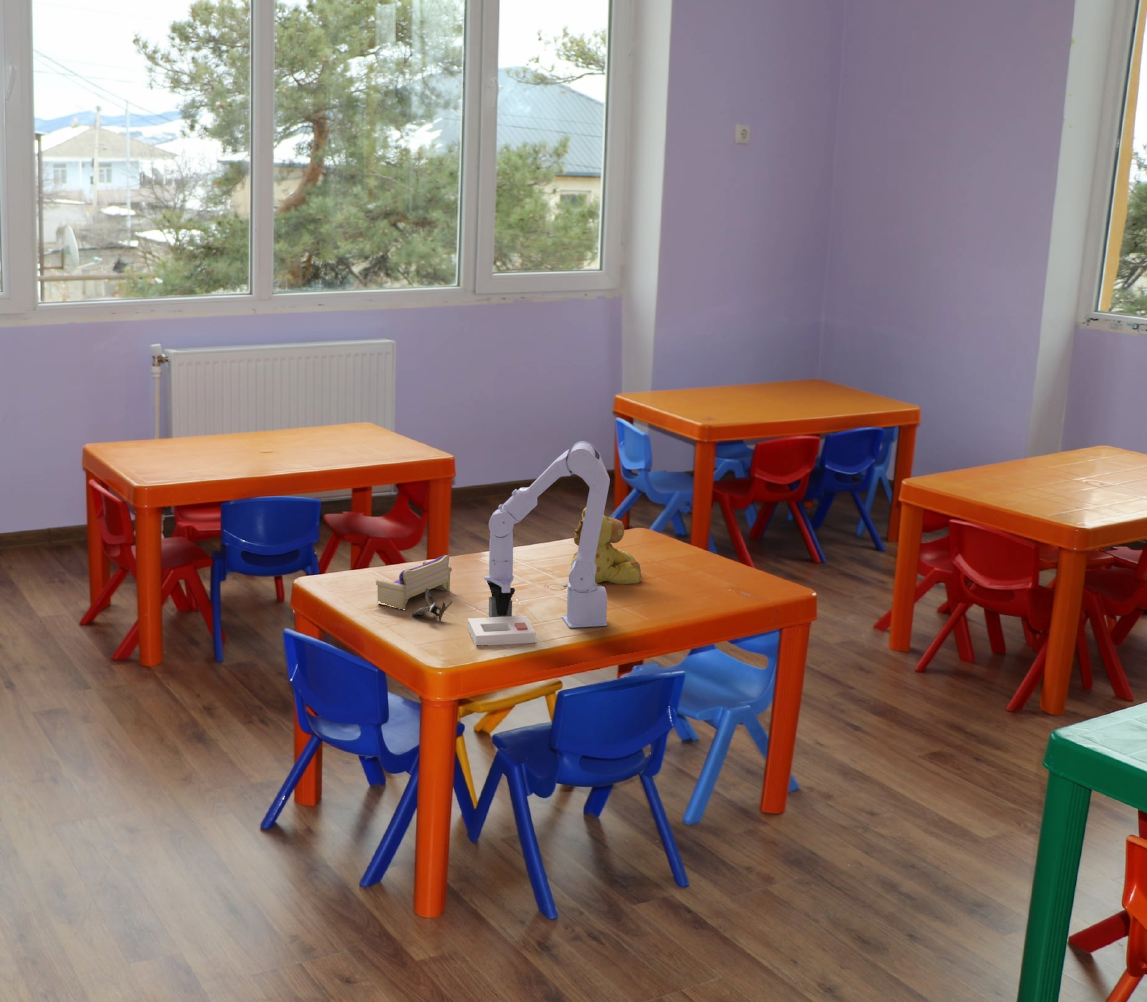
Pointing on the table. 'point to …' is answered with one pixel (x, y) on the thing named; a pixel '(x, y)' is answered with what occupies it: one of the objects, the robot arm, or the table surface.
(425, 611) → the eagle figurine
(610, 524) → the giraffe plush
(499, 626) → the socket
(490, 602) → the plug
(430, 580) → the toy sofa
